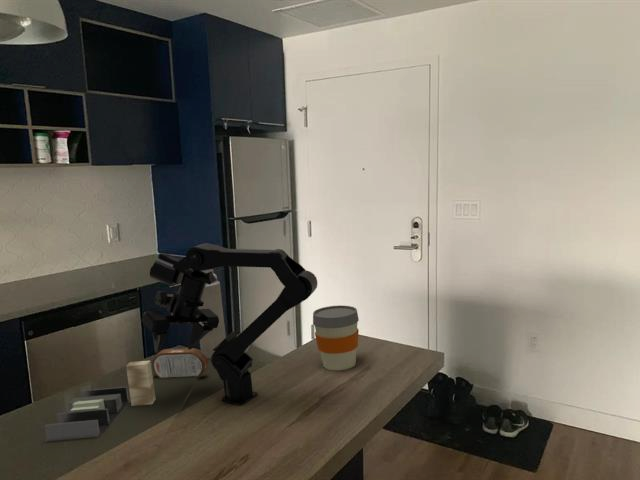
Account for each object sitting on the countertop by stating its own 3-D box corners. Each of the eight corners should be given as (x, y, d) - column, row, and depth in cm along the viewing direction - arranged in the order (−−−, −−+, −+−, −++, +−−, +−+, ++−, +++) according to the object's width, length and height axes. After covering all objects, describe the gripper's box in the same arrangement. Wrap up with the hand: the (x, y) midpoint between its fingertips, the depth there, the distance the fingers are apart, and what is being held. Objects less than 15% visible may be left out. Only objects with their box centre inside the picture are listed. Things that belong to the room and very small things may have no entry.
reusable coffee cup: (320, 356, 144) (315, 306, 143) (363, 355, 143) (359, 304, 141) (313, 373, 132) (308, 319, 130) (360, 372, 130) (356, 317, 128)
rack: (131, 403, 123) (128, 386, 122) (101, 440, 106) (98, 420, 105) (82, 407, 123) (80, 390, 122) (45, 445, 105) (41, 425, 105)
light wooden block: (156, 403, 122) (150, 360, 121) (152, 408, 120) (147, 364, 118) (135, 405, 122) (129, 362, 121) (132, 409, 119) (126, 366, 118)
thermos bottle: (212, 348, 160) (202, 262, 156) (232, 350, 156) (222, 262, 153) (196, 357, 153) (185, 267, 149) (217, 359, 149) (206, 267, 146)
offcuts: (105, 415, 115) (103, 397, 115) (99, 423, 112) (96, 404, 111) (80, 417, 115) (77, 399, 115) (72, 425, 112) (69, 407, 111)
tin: (209, 375, 137) (206, 346, 136) (205, 380, 134) (202, 350, 133) (157, 377, 139) (153, 348, 138) (152, 382, 136) (148, 352, 135)
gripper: (204, 279, 132) (188, 331, 135) (139, 278, 118) (122, 337, 121) (228, 298, 125) (210, 353, 128) (162, 300, 111) (144, 361, 114)
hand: (173, 350), depth 123 cm, fingers open, 9 cm apart
